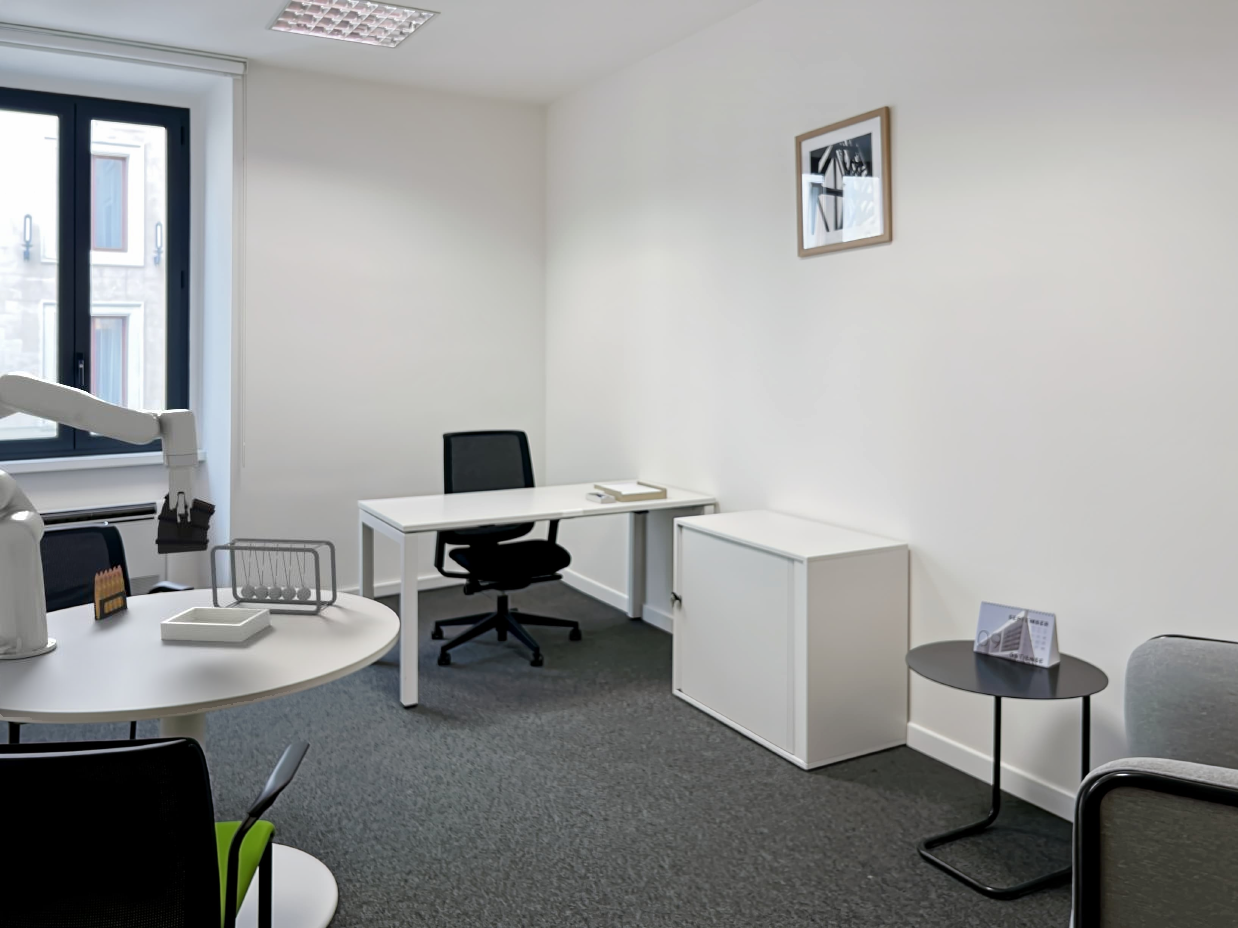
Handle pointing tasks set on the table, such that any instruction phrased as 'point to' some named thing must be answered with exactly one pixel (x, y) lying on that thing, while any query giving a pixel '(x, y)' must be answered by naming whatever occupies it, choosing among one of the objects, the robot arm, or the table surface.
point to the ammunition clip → (109, 594)
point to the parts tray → (215, 624)
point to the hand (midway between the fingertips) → (187, 535)
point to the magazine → (169, 528)
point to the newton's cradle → (276, 591)
